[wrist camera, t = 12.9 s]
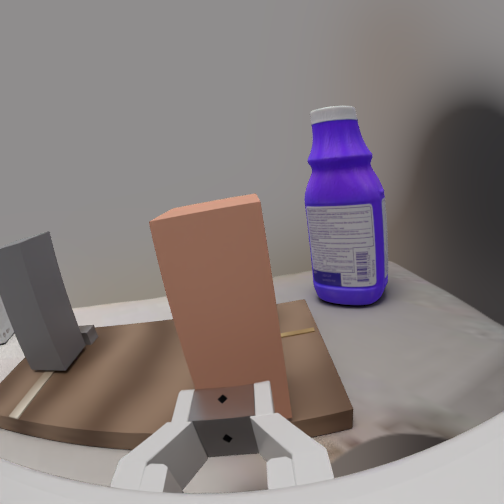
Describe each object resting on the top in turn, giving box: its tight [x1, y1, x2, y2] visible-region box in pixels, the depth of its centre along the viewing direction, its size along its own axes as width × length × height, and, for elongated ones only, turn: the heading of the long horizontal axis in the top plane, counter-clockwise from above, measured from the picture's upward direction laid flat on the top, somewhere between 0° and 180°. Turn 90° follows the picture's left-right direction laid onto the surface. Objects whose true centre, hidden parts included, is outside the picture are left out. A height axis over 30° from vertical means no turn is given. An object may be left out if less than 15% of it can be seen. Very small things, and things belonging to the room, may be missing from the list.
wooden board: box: [0, 299, 353, 450], centre depth 20 cm, size 26×14×3 cm, turn 92°
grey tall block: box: [0, 232, 86, 371], centre depth 20 cm, size 4×4×10 cm
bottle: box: [305, 106, 388, 305], centre depth 27 cm, size 7×6×17 cm
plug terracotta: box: [149, 194, 292, 419], centre depth 14 cm, size 4×4×10 cm
